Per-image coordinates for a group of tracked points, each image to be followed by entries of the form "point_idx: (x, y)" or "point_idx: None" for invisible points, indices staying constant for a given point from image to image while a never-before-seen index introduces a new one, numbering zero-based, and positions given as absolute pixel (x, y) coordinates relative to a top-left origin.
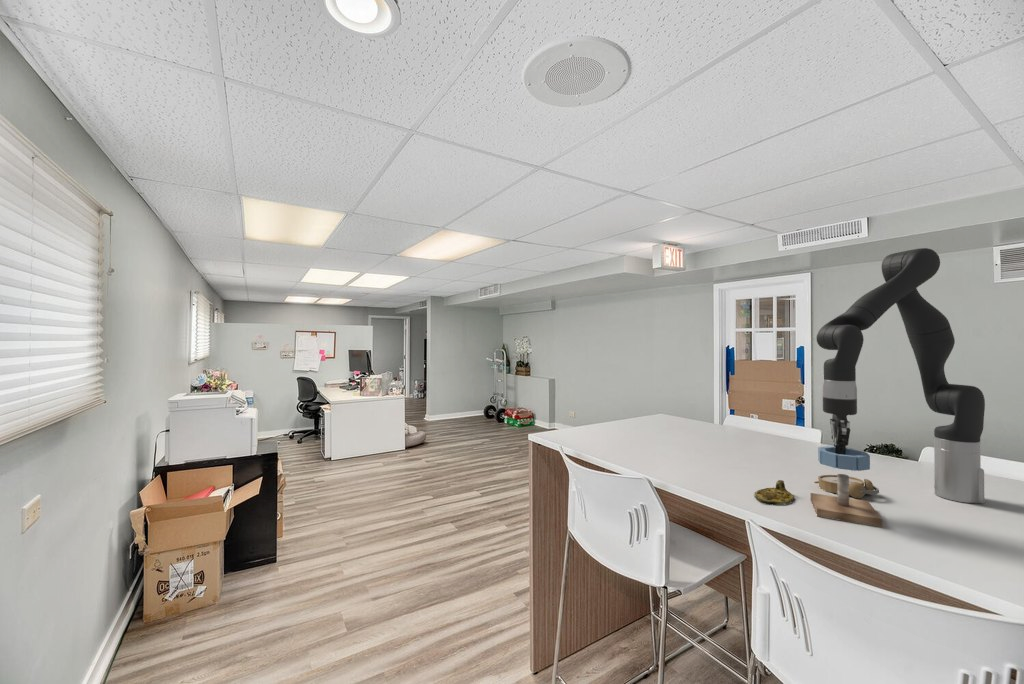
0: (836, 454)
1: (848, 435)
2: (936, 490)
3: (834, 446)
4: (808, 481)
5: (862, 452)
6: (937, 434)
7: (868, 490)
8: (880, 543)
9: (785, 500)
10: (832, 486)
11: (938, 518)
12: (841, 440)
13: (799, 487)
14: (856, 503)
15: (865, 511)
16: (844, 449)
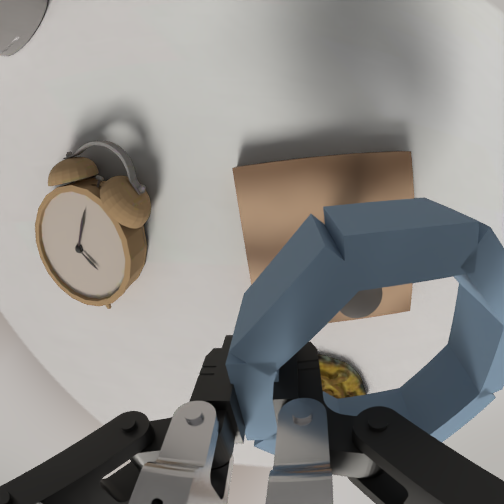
0: (487, 397)
1: (491, 481)
2: (13, 46)
3: (244, 428)
4: (86, 311)
5: (373, 269)
6: None
7: (126, 168)
8: (497, 179)
9: (337, 370)
10: (135, 268)
11: (204, 9)
12: (376, 468)
13: (157, 336)
14: (290, 206)
15: (365, 187)
16: (298, 384)
